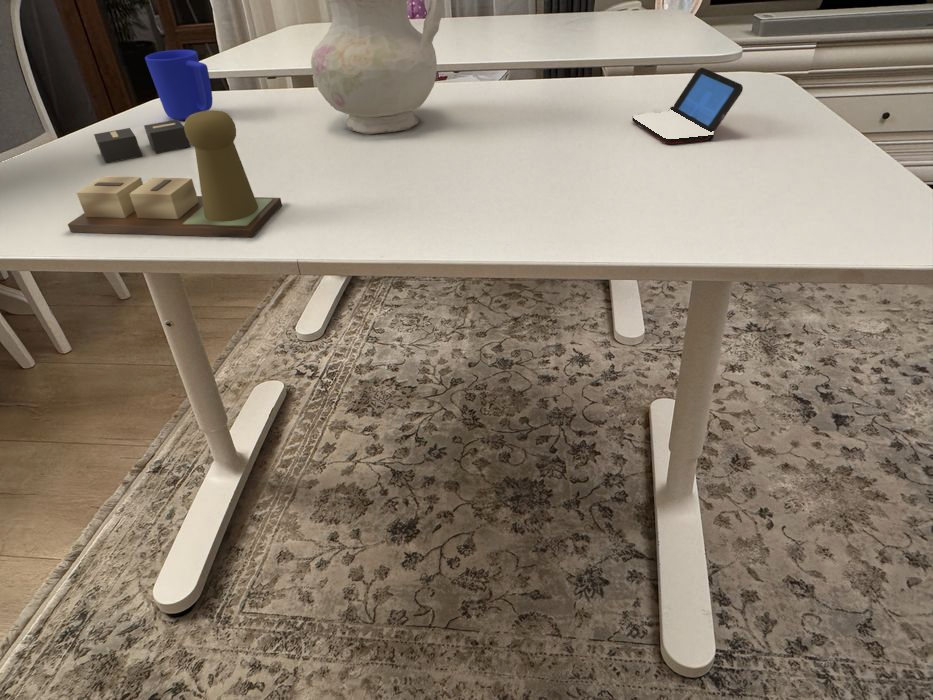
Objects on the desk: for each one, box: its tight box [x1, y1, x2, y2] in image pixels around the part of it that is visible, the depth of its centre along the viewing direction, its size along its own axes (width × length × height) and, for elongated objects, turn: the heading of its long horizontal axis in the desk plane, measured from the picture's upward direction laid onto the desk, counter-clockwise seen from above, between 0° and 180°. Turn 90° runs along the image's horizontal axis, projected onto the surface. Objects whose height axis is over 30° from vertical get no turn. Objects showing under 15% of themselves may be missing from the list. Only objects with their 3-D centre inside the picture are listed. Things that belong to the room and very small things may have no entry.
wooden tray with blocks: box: [67, 176, 283, 238], centre depth 75 cm, size 22×9×4 cm, turn 82°
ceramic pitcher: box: [310, 0, 445, 136], centre depth 98 cm, size 22×20×25 cm
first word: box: [93, 119, 191, 164], centre depth 97 cm, size 5×12×3 cm, turn 122°
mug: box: [144, 49, 213, 121], centre depth 109 cm, size 8×12×10 cm
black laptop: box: [631, 67, 744, 145], centre depth 95 cm, size 12×11×7 cm
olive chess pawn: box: [183, 109, 258, 221], centre depth 71 cm, size 6×6×11 cm
